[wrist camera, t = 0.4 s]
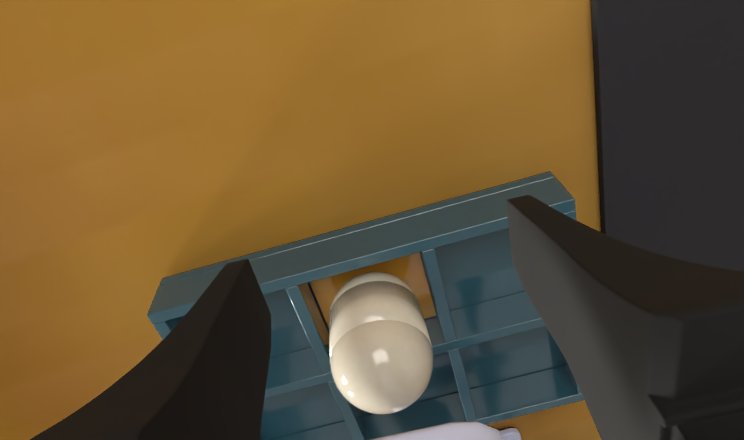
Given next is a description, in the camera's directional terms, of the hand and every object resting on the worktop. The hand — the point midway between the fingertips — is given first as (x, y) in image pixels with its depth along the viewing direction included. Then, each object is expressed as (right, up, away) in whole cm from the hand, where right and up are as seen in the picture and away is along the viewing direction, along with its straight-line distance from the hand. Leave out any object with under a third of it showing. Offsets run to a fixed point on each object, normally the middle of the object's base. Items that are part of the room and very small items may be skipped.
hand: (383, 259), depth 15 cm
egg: (0, -2, +12) cm, 12 cm away
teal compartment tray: (0, -5, +14) cm, 15 cm away
